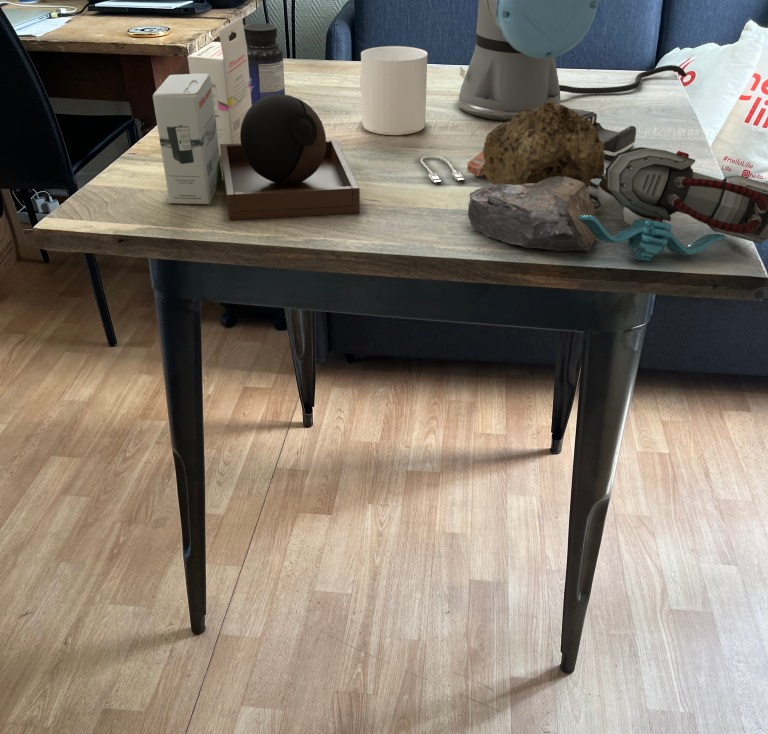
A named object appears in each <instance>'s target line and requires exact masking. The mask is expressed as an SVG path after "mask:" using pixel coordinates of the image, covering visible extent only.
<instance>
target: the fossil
mask: <svg viewBox="0 0 768 734" xmlns="http://www.w3.org/2000/svg"><path fill="white" fill-rule="evenodd" d="M570 109H571V108H570V107H567V106H565V105H563V104H560V105H558V104H556V103H552V102H551V101H547V102H545V103H544V104H543V105H541V106H539V107H538V108H537V109H534V110H533V109H531V108H525V109H523V110H522V112H519V113H516V114H514V115H513V117H512V119H511V121H505V122H502V123H499V124H498V125H497V126H496V127H494V128H492V130H491V131H490V132H488V133H487V135H486V137H485V142H484V146H483V150H482V151H483V153H484V155H483V156H484V159H485V163H484V164H483V172H484V174H485V175H484V176H485V177H486V179H487V180H488V182H490V183H491V184H492V185H495V184H512V185H522V184H528V183H538V182H540V181H542V180H544V179H547V178H550V177H555V176H561V177H564V176H566V177H569V178H573V179H576V180H579V181H582V182H583V183H584V184H585V185H586V187H587V189H589V188H590V186H589V185H590V184H591V182H592V180H597V179H596V178H598V177H600V176H601V175H605V174H606V173H605V168H606V167H605V166H606V165H605V158H604V157H605V153H604V151H603V150H604V147H605V144H604V142H603V141H601V140H600V139H599V136H598V134H597V133H596V131H595V128H594V126H593V123H592V122H591V121H589V120H587V119H585V118H584V117H582V116H581V115H578V114H577V113H576V112H575V111H571V110H570ZM590 181H591V182H590Z"/></svg>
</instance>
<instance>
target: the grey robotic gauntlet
mask: <svg viewBox="0 0 768 734" xmlns="http://www.w3.org/2000/svg"><path fill="white" fill-rule="evenodd" d="M695 163H696V159H694V158H691V157H690V155H689V153H687V152H684V151H680V150H678V151H677V152H672V151H668V150H665V149H657V148H651V147H642V146H640V147H636V148H633V149H631V150H629V151H625V152H621V153H618V154H617V155H616V156H615V157H614V159H613V160H610V162H609V164H608V165H607V166H606V167H605V174H606V175H605V187H606V188H607V189H608V191H609V192H610V193H611V194H612V195H613V196H614V198H615V199H616V200H617V201H618V202H619V203H620V204H621V205H620V206H622V207H623V208H624V207H626V208H628V209H631V210H633V211H635V212H637V213H640V214H642V215H646V216H650V217H651V220H654V221H661V222H664V221H666V222H672V218H671V217H672V216H671V215H673V214H676V213H680V214H685V215H686V216H689V217H691V218H692V219H694V220H696V221H697V222H699V223H703V224H705V225H707V226H708V227H709V228H710V229H711V230H712V231H713V232H717V233H719V234H722V235H728V236H731V237H735V238H738V239H742V240H745V241H749V242H752V243H756V244H762V243H763V242H765V241H767V240H768V183H766V182H762V181H759V180H755V179H752V178H748V177H744V176H741V175H738V174H737V175H730V176H729V175H728V176H725V178H723V179H721V178H717V177H713V176H709V175H706V174H703V173H700V172H695V171H694V169H693V168H692V166H693V165H694V164H695Z"/></svg>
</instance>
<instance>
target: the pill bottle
mask: <svg viewBox="0 0 768 734" xmlns="http://www.w3.org/2000/svg"><path fill="white" fill-rule="evenodd" d="M243 27H244V33H245V39H246V45H247V54H248V67H249V79H250V91H251V103H252V105H253V104H254V103H256V102H257V101H258V100H260V99H262V98H264V97H266V96H269V95H274V94H283V95H286V88H285V68H284V50H283V48H282V47H281V45H279V44H278V43H277V42H276V41H277V40H276V39H277V37H278V29H277V26H276V25H275V24H272V23H265V22H264V23H263V22H256V23H247V24H243Z"/></svg>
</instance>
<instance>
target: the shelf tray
mask: <svg viewBox="0 0 768 734" xmlns="http://www.w3.org/2000/svg"><path fill="white" fill-rule="evenodd" d="M220 152H221V157H220V163H221V171H222V179H223V185H224V191H225V198H226V206H227V214H228V220H229V221H238V220H240V221H241V220H255V219H257V220H258V219H275V218H292V217H294V218H295V217H310V216H311V217H312V216H313V217H314V216H329V215H347V214H348V215H349V214H360V213H361V210H360V209H361V208H360V205H361V203H360V202H361V201H360V200H361V198H360V195H361V194H360V187H359V184H358V182H357V180H356V177H355V176H354V174H353V172H352V169H351V168H350V165H349V163H348V161H347V159H346V156H345V155H344V153H343V150H342V149H341V147H340V144H339V142H338V140H337V139H326V150H325V155H324V158H323V161H322V163H321V165H320V166H319V168H318V169H317V171H316V172H315V173H314V174H313V175H312V176H310V177H309V178H308V179H306V180H304V181H302V182H299V183H296V184H279V183H275V182H272V181H269V180H267V179H265V178H263V177H262V176H260V175H259V174H258V173H257V172H256V171H254V169H253V168H252V167H251V166H250V165H249V163H248V162H247V160H246V158H245V156H244V153H243V151H242V147H241V143H240V144H220Z"/></svg>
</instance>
